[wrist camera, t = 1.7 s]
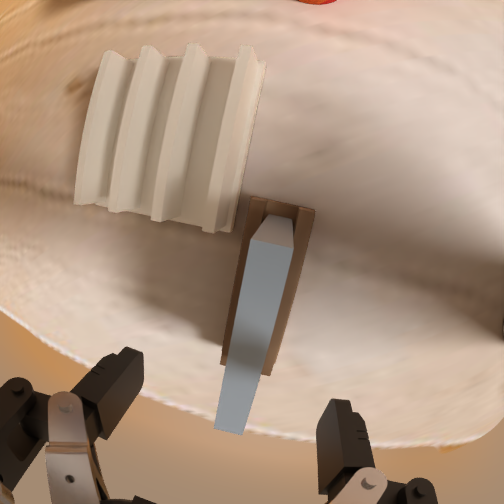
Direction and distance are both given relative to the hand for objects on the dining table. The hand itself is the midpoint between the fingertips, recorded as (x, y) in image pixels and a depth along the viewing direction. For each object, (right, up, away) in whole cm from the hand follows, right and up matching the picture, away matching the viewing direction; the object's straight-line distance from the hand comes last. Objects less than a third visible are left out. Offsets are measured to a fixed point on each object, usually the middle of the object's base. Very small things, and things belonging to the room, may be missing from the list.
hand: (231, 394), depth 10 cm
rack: (-6, +16, +11) cm, 20 cm away
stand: (+2, +3, +13) cm, 14 cm away
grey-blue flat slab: (+2, +3, +12) cm, 13 cm away
